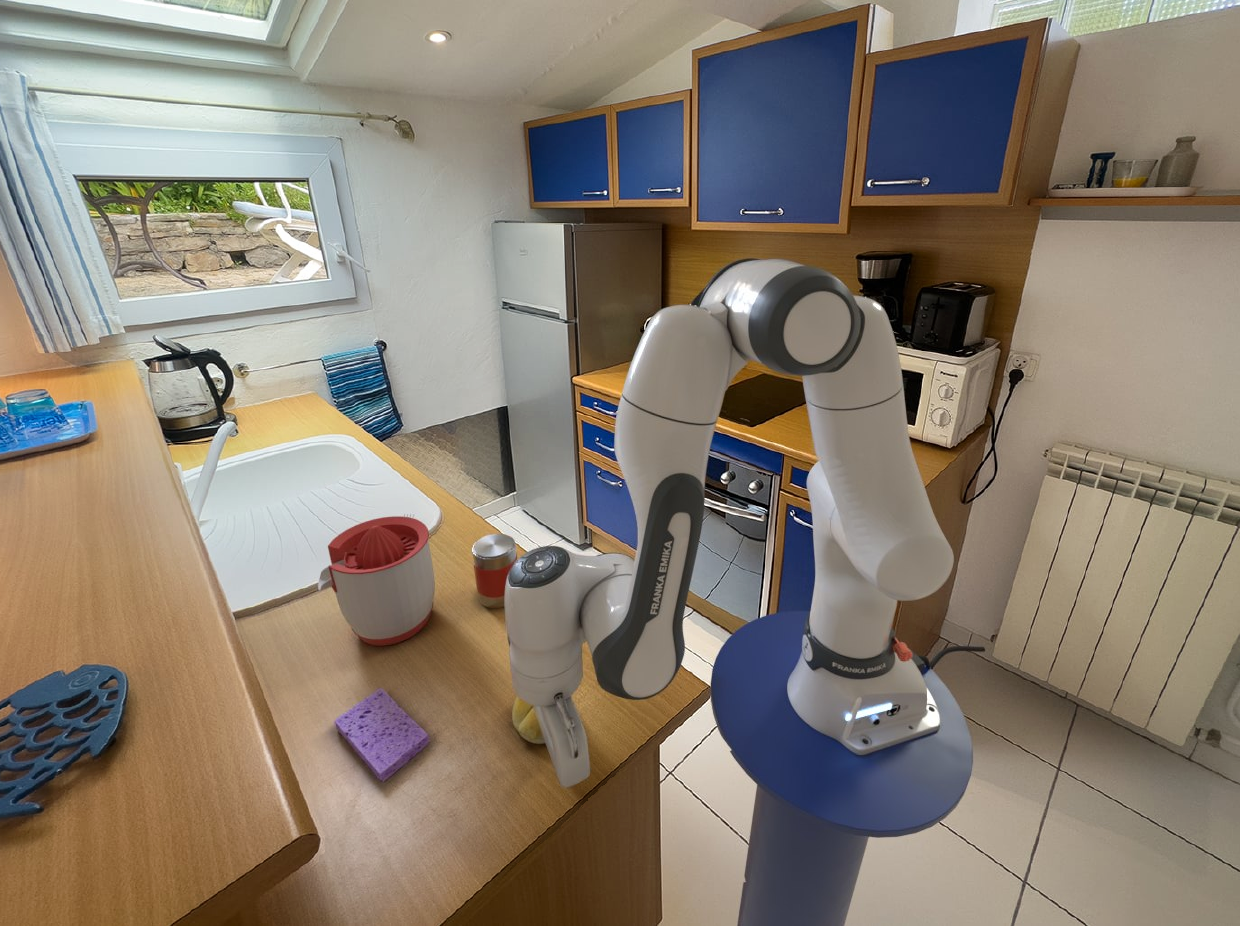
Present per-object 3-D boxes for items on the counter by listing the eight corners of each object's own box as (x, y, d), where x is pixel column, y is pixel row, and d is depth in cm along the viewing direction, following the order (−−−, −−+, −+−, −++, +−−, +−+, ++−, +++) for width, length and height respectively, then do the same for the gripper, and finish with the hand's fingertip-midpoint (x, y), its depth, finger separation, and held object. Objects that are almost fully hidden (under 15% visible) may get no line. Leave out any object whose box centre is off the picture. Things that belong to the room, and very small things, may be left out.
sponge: (383, 695, 81) (380, 686, 80) (431, 743, 74) (429, 733, 73) (335, 729, 76) (332, 719, 75) (382, 784, 69) (379, 774, 68)
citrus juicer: (332, 612, 97) (306, 518, 89) (434, 582, 105) (418, 492, 97) (335, 675, 84) (305, 571, 76) (450, 635, 92) (433, 537, 84)
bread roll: (552, 682, 84) (550, 662, 82) (582, 723, 77) (581, 703, 76) (502, 710, 79) (499, 690, 77) (529, 757, 72) (527, 736, 71)
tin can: (522, 579, 106) (518, 531, 101) (518, 607, 99) (513, 556, 94) (482, 581, 105) (475, 533, 101) (474, 610, 98) (467, 559, 94)
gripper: (602, 724, 60) (604, 804, 65) (547, 607, 77) (553, 678, 82) (547, 747, 57) (554, 829, 63) (503, 621, 74) (511, 694, 80)
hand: (553, 742), depth 73 cm, fingers closed
